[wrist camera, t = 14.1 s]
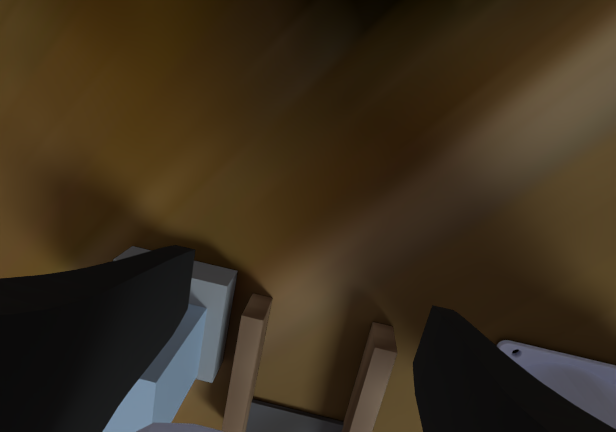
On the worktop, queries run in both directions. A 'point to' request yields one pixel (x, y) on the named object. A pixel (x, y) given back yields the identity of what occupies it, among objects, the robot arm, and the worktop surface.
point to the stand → (208, 309)
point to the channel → (292, 423)
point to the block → (164, 378)
